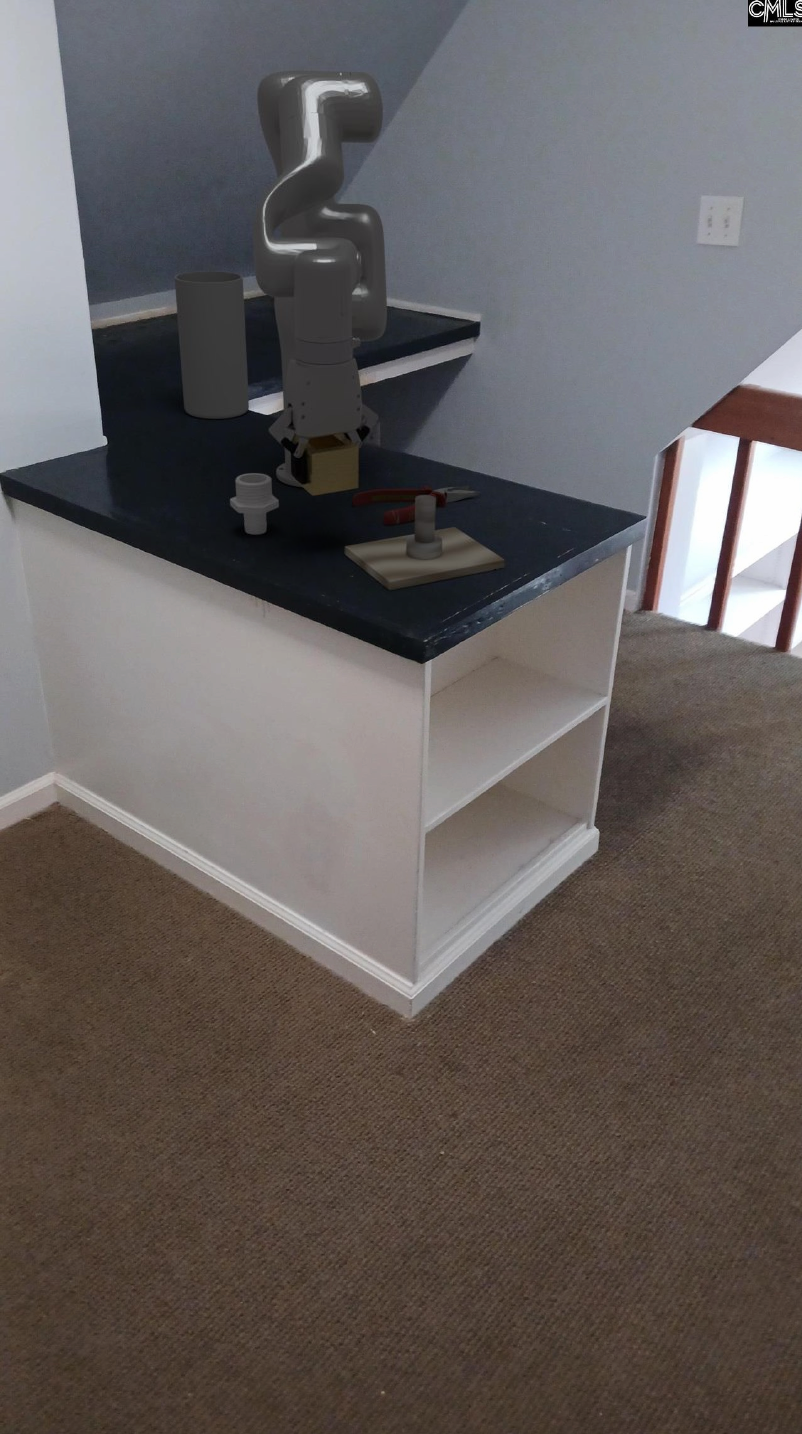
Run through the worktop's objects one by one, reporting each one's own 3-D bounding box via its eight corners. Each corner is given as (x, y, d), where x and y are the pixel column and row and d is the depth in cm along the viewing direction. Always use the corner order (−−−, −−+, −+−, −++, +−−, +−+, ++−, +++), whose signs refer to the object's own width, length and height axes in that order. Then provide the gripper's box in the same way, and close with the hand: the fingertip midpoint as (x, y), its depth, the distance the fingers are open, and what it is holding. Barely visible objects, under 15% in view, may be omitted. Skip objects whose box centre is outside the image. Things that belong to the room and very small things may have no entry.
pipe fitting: (266, 519, 178) (264, 468, 174) (284, 535, 172) (282, 483, 168) (227, 526, 175) (224, 474, 171) (244, 542, 170) (241, 489, 166)
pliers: (495, 507, 186) (496, 491, 184) (387, 530, 176) (387, 513, 175) (454, 487, 194) (455, 471, 193) (349, 507, 185) (349, 491, 183)
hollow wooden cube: (292, 478, 167) (291, 437, 163) (337, 471, 169) (336, 430, 166) (312, 495, 161) (312, 454, 158) (358, 487, 164) (358, 446, 161)
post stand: (344, 554, 166) (344, 492, 162) (454, 534, 174) (456, 474, 169) (389, 590, 156) (390, 525, 151) (504, 567, 163) (508, 504, 158)
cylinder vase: (256, 416, 226) (250, 281, 214) (193, 422, 222) (183, 284, 209) (239, 400, 236) (232, 269, 223) (178, 405, 232) (167, 272, 219)
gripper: (369, 336, 162) (368, 459, 171) (252, 349, 155) (257, 477, 164) (394, 350, 156) (391, 476, 166) (273, 365, 149) (278, 496, 159)
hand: (325, 476), depth 165 cm, fingers closed on hollow wooden cube, 7 cm apart
